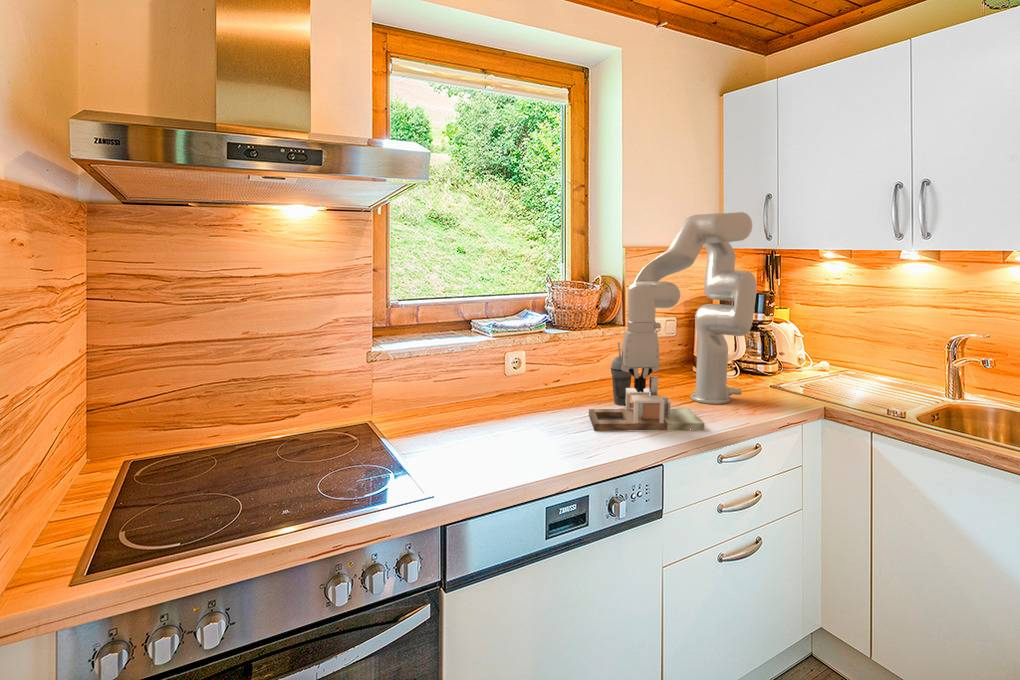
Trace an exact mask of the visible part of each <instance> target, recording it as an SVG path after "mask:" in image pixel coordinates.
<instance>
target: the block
mask: <svg viewBox="0 0 1020 680" xmlns="http://www.w3.org/2000/svg"><path fill="white" fill-rule="evenodd" d="M659 405H660V403H643V418H642V419H659Z"/></svg>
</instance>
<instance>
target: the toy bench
mask: <svg viewBox="0 0 1020 680" xmlns="http://www.w3.org/2000/svg"><path fill="white" fill-rule="evenodd" d="M630 399H631V400H632V401H633V409H634V423H638V403H660V405H659V423H664V400H663V398H662V396H661V395H660V394H659V395H658V394H657V395H649V387H646V388H645V389H644V392H641V391H640V392H637V391H636V389H635V388H634V387H630V388H626V405H625V409H626V410H630V409H631V408H630V402H631V400H630Z"/></svg>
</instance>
